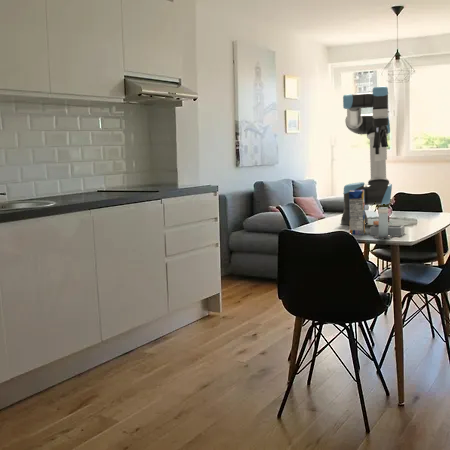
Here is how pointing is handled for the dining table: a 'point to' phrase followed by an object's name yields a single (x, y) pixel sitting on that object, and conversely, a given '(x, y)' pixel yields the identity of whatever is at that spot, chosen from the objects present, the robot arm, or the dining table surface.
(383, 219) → the cartridge
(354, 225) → the beverage box
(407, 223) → the dining table surface
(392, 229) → the housing
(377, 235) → the mat
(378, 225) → the plunger
